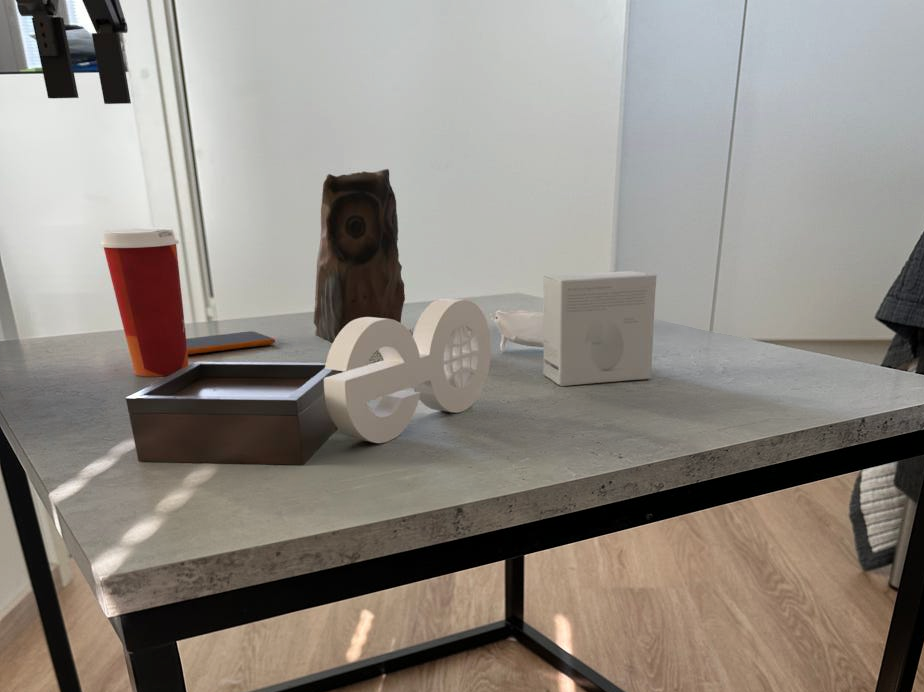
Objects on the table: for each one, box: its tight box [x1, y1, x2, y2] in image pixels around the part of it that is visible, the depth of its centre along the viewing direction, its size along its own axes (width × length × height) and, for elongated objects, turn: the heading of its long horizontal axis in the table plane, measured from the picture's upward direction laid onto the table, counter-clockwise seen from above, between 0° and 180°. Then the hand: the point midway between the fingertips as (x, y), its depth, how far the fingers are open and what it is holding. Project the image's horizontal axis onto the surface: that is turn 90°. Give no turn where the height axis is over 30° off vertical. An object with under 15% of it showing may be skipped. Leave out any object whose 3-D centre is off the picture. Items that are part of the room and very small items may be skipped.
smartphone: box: [186, 330, 276, 356], centre depth 118 cm, size 8×17×1 cm, turn 125°
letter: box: [324, 297, 492, 444], centre depth 82 cm, size 22×2×10 cm, turn 148°
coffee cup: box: [99, 227, 189, 378], centre depth 103 cm, size 8×8×15 cm
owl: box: [313, 168, 406, 344], centre depth 118 cm, size 13×13×20 cm
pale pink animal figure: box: [490, 309, 544, 354], centre depth 112 cm, size 5×7×10 cm
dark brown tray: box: [125, 361, 343, 466], centre depth 80 cm, size 14×14×5 cm
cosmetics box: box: [542, 270, 658, 387], centre depth 98 cm, size 10×6×10 cm, turn 104°
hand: (92, 101), depth 96 cm, fingers open, 13 cm apart
